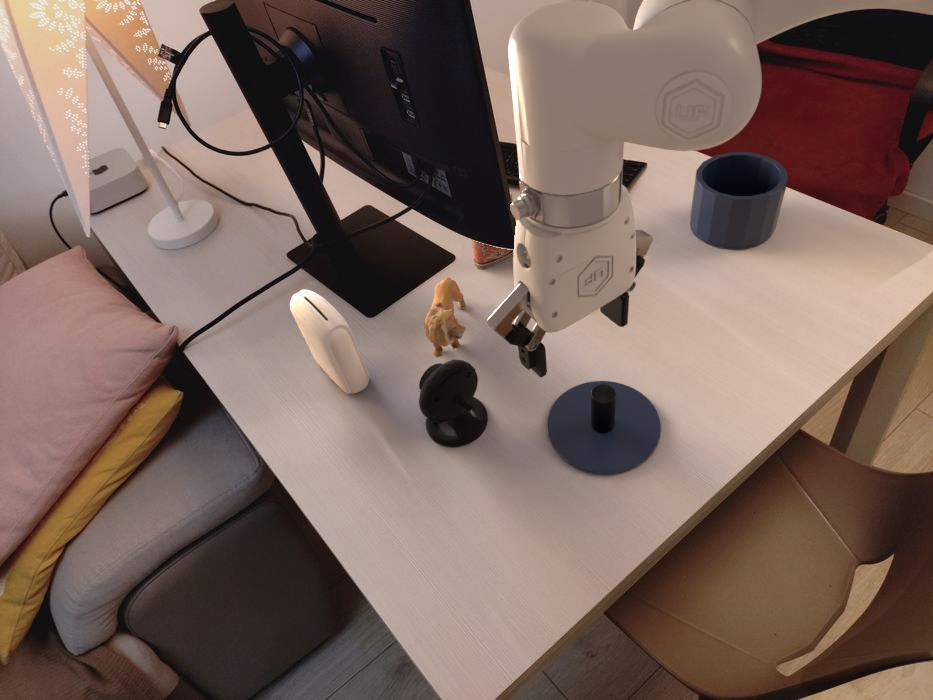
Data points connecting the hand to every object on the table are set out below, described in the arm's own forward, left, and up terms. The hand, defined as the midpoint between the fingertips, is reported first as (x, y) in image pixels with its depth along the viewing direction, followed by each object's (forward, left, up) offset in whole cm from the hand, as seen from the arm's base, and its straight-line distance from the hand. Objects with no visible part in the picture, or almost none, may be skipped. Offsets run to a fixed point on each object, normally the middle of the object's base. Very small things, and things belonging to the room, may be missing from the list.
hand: (574, 342), depth 60 cm
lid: (-1, -3, -15) cm, 16 cm away
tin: (+16, -41, -16) cm, 47 cm away
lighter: (+33, -11, -16) cm, 39 cm away
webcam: (+10, +10, -16) cm, 22 cm away
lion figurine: (+23, +3, -16) cm, 28 cm away
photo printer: (+27, +18, -16) cm, 36 cm away
